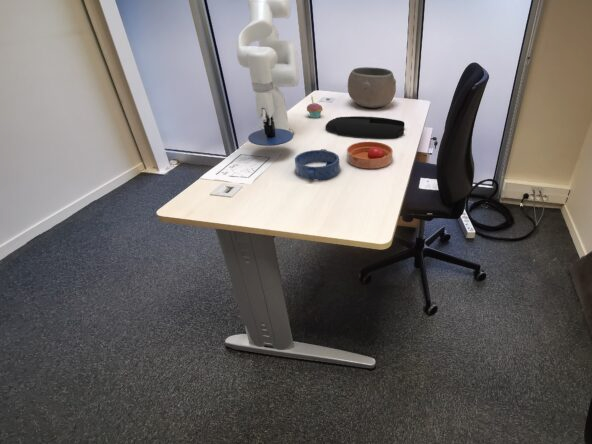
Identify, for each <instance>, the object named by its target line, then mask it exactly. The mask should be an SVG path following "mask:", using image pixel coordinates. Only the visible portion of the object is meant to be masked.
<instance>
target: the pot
mask: <svg viewBox="0 0 592 444" xmlns="http://www.w3.org/2000/svg"><path fill="white" fill-rule="evenodd" d="M312 163H325V164H324V165H322V166H309V165H308V164H312ZM294 164H295V172H296V175H298V176H299V177H301V178H302V179H306V180H315V181H316V180H317V182H318V181H319V182H320V181H327V180H330V179H333V178H335V177H336V176H338V175H339V174H340V170H341V166H340V165H341V164H340V155H338V154H336V153H335V152H333V151H330V150H327V149H325V148H320V149H315V150H314V149H313V150H312V149H311V150H307V151H303V152H300V153H299V154H296V155H295V158H294Z"/></svg>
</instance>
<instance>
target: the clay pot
mask: <svg viewBox="0 0 592 444" xmlns="http://www.w3.org/2000/svg"><path fill="white" fill-rule="evenodd" d="M396 84H397V80H396V78H395V76H394V73H393V71H392V70H390V69H387V68H382V67H371V66H370V67H368V66H364V67H363V66H362V67H356V68H353V69H352V70H351V71H350V73H349V75H348V78H347V93H348V95H349V98H350V99H351V100H352V101H353V102H354V103H355V104H357V105H359V106H360V107H364V108H368V109H369V108H370V109H377V108H383V107H385V106H387V105H388V104H391V102H392V101H393V99H394V97H395V95H396V91H397V85H396Z"/></svg>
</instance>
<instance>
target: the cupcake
mask: <svg viewBox="0 0 592 444" xmlns="http://www.w3.org/2000/svg"><path fill="white" fill-rule="evenodd" d="M310 98H311V103H309V104H308V105H307V106H306V111H307V112H308V114H309V116H310V117H311V118H312V119H318V118H321V117H320V116H321V113H322V111H323V106H322V105H321V104H320V103H315V102H314V96H311V97H310Z"/></svg>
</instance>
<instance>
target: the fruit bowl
mask: <svg viewBox="0 0 592 444" xmlns="http://www.w3.org/2000/svg"><path fill="white" fill-rule="evenodd" d="M372 147H379V148H381V149H382V151H383V153H384V157H382V158H377V159H368V151H369V150H370V149H371V148H372ZM393 153H394V151H393V148H392V147H391V146H390V145H388V144H385V143H383V142H378V141H359V142H355V143H353V144H351V145H349V146H347V149H346V159H347V162H348V163H349V164H350V165H352V166H355V167H357V168H362V169H379V168H384V167H387V166H388V165H390V164H391V163H392V162H393V155H394V154H393Z"/></svg>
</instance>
